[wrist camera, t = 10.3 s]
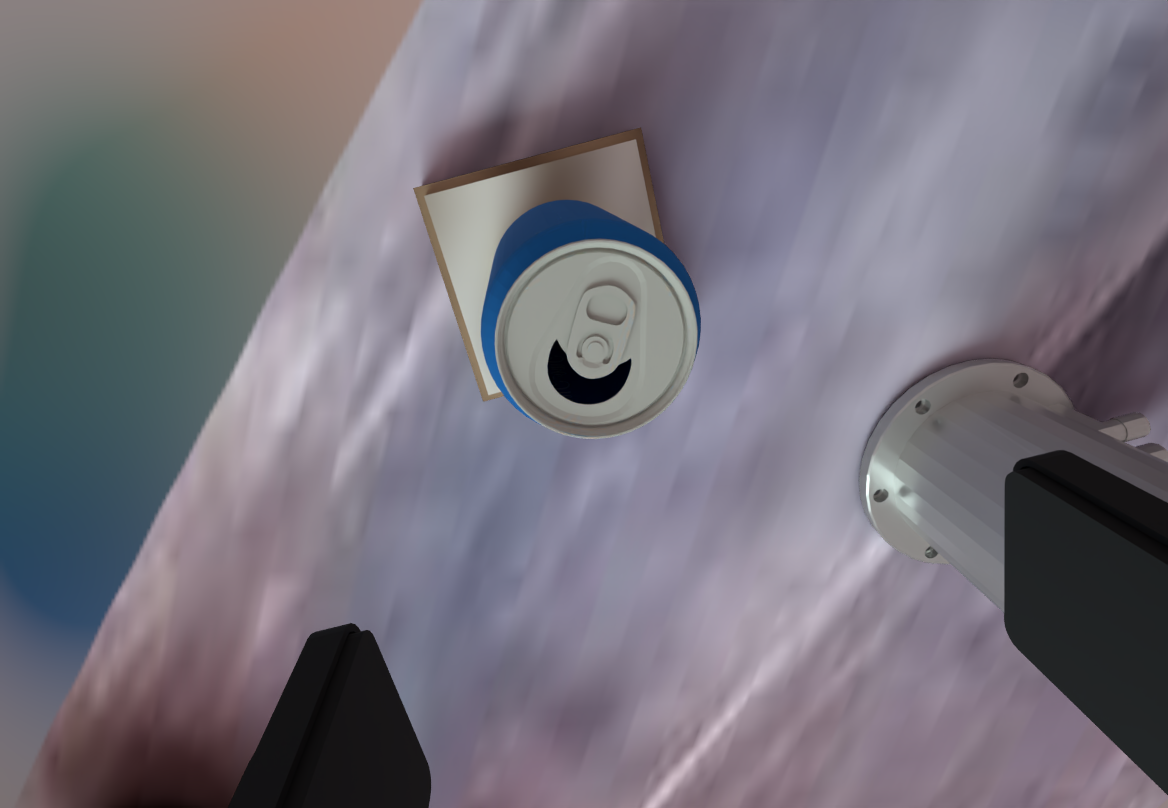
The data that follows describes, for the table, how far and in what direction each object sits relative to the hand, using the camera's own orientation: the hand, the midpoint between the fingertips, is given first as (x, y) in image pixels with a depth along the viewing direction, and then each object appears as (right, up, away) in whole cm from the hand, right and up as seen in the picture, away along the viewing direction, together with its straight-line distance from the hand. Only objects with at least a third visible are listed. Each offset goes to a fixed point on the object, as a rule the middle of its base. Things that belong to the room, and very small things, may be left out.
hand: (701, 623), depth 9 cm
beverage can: (-3, +9, +20) cm, 22 cm away
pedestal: (-3, +10, +22) cm, 25 cm away
